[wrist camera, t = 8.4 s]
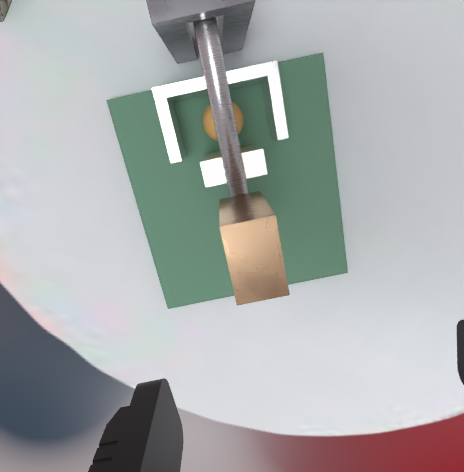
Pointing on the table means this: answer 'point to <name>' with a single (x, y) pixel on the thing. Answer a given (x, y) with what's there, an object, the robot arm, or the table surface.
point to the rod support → (193, 9)
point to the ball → (209, 122)
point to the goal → (236, 79)
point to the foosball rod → (239, 187)
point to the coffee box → (3, 8)
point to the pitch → (207, 198)
